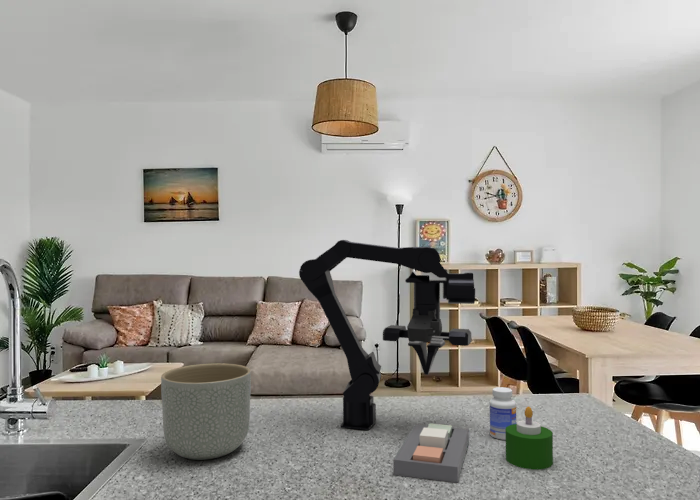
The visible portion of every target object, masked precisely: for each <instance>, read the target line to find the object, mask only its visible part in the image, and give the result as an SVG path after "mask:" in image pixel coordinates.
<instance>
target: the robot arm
mask: <svg viewBox="0 0 700 500" xmlns="http://www.w3.org/2000/svg"><path fill="white" fill-rule="evenodd" d="M348 258H349V259H357V260H364V261H371V262H380V263H387V264H394V265H395V264H396V265H399V266H402V267H405V268H408V269H411V270H413V271H411V273H410V275H409V276H408V277H407V278H405V279H404V280H405V283H406V284H413V308H412V316H411V319H410V320H409V322H408V324H407V326H406V325H397V324H396V325H394V324H391V325H389V326H386V327H384V328H383V330H382V341H386V342H397V341H398V340H399V339H400V338H402V339H408V343H407V346H408V347H412V348H413V350H414V351H415V353H416V354H417V357H418V359H419V362H420V366H421V368H422V371H423V374H424V375H426V376H427V375H429V374H430V372H431V369H432V367H433V364H434V360H435V358H436V355H437V353H438V352H439V349H441V348H442V347H444V346H445V345H446V341H448V342H449V343H450V344H451V345H452V346H459V347H461V346H462V347H467V346H469V345H470V344H471V343H472V331H471V330H470V329H469V328H452V329H451V330H449V331H443V324H442V320H441V301H440V300H441V284H442V299H443V300H445V299H446V301H447V303H448V304H450V305H451V304H456V305H457V304H458V305H461V304H462V305H463V304H464V305H465V304H466V305H469V304H470V305H474V304H475V303H476V287H475V279H474V273H473V272H464V273H463V272H461V273H460V272H459V273H456V272H455V273H451V272H450V273H448V270H447V269H446V268H444V266H443V265H442V264H441V256H440V253H439V252H438V250H437V249H436V248H434V247H431V246H409V247H396V246H386V245H380V244H373V243H372V244H370V243H361V242H355V241H349V240H347V239H341V240H338V241H337V242H336V243H335V244H333V246H331V247H330V248H329V249H328V250H326V251H325V252H322V254H320V255H318V256H317V257H316V258H315V259H314V258H313V259H307V260H305V261H304V262H303V263H302V264H301V265H300V268H299V272H298V274H299V278H300V281H302V283H303V284H304V286H305V287H306V288H307V290H308V291H309V292H310V293H311V294H312V295H313V297H314V298H315V299H317V302H318V303H319V304H320V306H321V309H322V311H323V313H324V315H325V317H326V319H327V321H328V323H329V324H330V327H331V328H332V330H333V333H334V335H335V337H336V339H337V341H338V343H339V345H340V347H341V349H342V352H344V356H345V358H346V361H347V367H348V370H349V375H350V378H351V380H349V381H348V382H347V384H346V386H345V388H344V390H343V392H342V395H343V397H342V423H340V428H343V429H345V428H346V429H353V430H363V431H364V430H366V431H369V430H370V429H371V428H372V427H373V426H374V424H375V423H376V422H377V404H376V403H375V402H374V395H371V394H373V393H374V392H376V390H377V389H378V388H379V385H380V380H381V376H382V374H381V368H382V365H381V364H379V362H378V360H377V357H376V355H375V354H376V353H375V352H374V351H371V352H370V353H368V352H367V351H366V350H365V348H363V347H362V345H361V343H360V340H359V338H358V336H357V335H356V333H355V330H354V329H353V326H352V324H351V323H350V320H349V318H348V316H347V314H346V312H345V310H344V309H343V306H342V304H341V302H340V300H339V298H338V296H337V294H336V291H335V286H334V282H333V277H332V274H331V271H332V270H334V269H335V268H337V266H338V265H339V264H341V263H342V262H343V261H344V260H346V259H348ZM414 271H417V272H421V273H424V274H420V275H419V274H416V273H415V272H414ZM430 273H431V274H433V275H435V276H436V277H437V278H439V279H430V275H427V274H430ZM441 278H442V279H441Z"/></svg>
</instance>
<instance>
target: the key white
mask: <svg viewBox="0 0 700 500" xmlns="http://www.w3.org/2000/svg"><path fill="white" fill-rule="evenodd" d="M447 443H448V430H446V429H435V428H425V427H424V428H423V430H422V432H421V434H420V446H426V447H436V448H443V449H444V450H445V449H446V446H447Z"/></svg>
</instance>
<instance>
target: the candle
mask: <svg viewBox="0 0 700 500" xmlns="http://www.w3.org/2000/svg"><path fill="white" fill-rule="evenodd" d="M533 412H534V411H533V409H532V408H531V406H527V407H525V410H524V417H525V420H524V419H523V420H518V421H516V424H512V425H509V426H507V427H506V429H505V430H506V440H505V460H506V462H507V463H509V464H510V465H512V466H515V467H518V468H521V469H524V470H525V469H527V470H532V471H533V470H537V471H538V470H546V469H549V468H551V467H552V466H553V464H554V455H553V454H554V453H553V452H554V451H553V450H554V447H553V445H554V444H553V443H554V440H553V439H554V438H553V431H552V430H551V429H549V428H548V427H545V426H542V424H541V423H539V422H537V421H534V420H533V414H534V413H533Z"/></svg>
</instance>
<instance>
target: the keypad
mask: <svg viewBox="0 0 700 500" xmlns="http://www.w3.org/2000/svg"><path fill="white" fill-rule="evenodd" d="M428 425H429V424H423V423H422V424H420V423H415V424H414V425H413V427H412V428H411V430H410V431H409V433H408V434H407V436H406V438H405V440H404V441H403V443H402V444H401V446H400V448H399V450H398V452H397V453H396V455H395V457H394V458H393V463H392V464H393V466H392V467H393V476H394V475H395V476H401V477H402V476H403V477H409V478H418V479H424V480H433V481H442V482H449V483H456V484H457V483H459V479H460V475H461V473H462V472H461V471H462V467H463V464H464V460H465V457H466V454H467V450H468V447H469V446H468V445H469V443H470V429H469V428H464V427H455V426H454V427H453V426H452V436H451V438H449V437H448V443H447V446H446V449H445V450H444V449H443V461H442V463H433V462H425V461H416V460H413V454H414V452H415V450H416V448H417V446H420V434H421V432H422V430H423V428H424V427H425V428H427V427H428Z"/></svg>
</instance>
